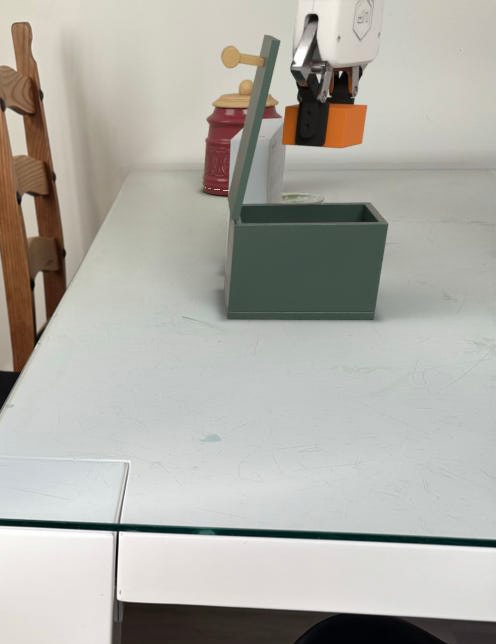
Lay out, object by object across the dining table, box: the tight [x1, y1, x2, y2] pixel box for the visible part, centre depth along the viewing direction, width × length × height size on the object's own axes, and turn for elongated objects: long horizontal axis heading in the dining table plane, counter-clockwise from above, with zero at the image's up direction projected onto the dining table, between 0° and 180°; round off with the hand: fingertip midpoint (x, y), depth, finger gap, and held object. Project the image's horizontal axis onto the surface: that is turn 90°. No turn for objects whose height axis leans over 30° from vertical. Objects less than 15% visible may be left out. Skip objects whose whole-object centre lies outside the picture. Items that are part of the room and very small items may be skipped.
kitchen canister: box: [201, 79, 283, 197], centre depth 176 cm, size 13×13×18 cm
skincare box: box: [224, 117, 287, 271], centre depth 131 cm, size 21×6×16 cm, turn 162°
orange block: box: [282, 103, 368, 149], centre depth 105 cm, size 7×4×4 cm, turn 47°
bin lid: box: [220, 34, 281, 221], centre depth 106 cm, size 16×13×5 cm
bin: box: [223, 201, 389, 321], centre depth 112 cm, size 16×13×10 cm
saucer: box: [282, 192, 325, 203], centre depth 160 cm, size 10×10×2 cm
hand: (322, 140), depth 105 cm, fingers closed on orange block, 4 cm apart
